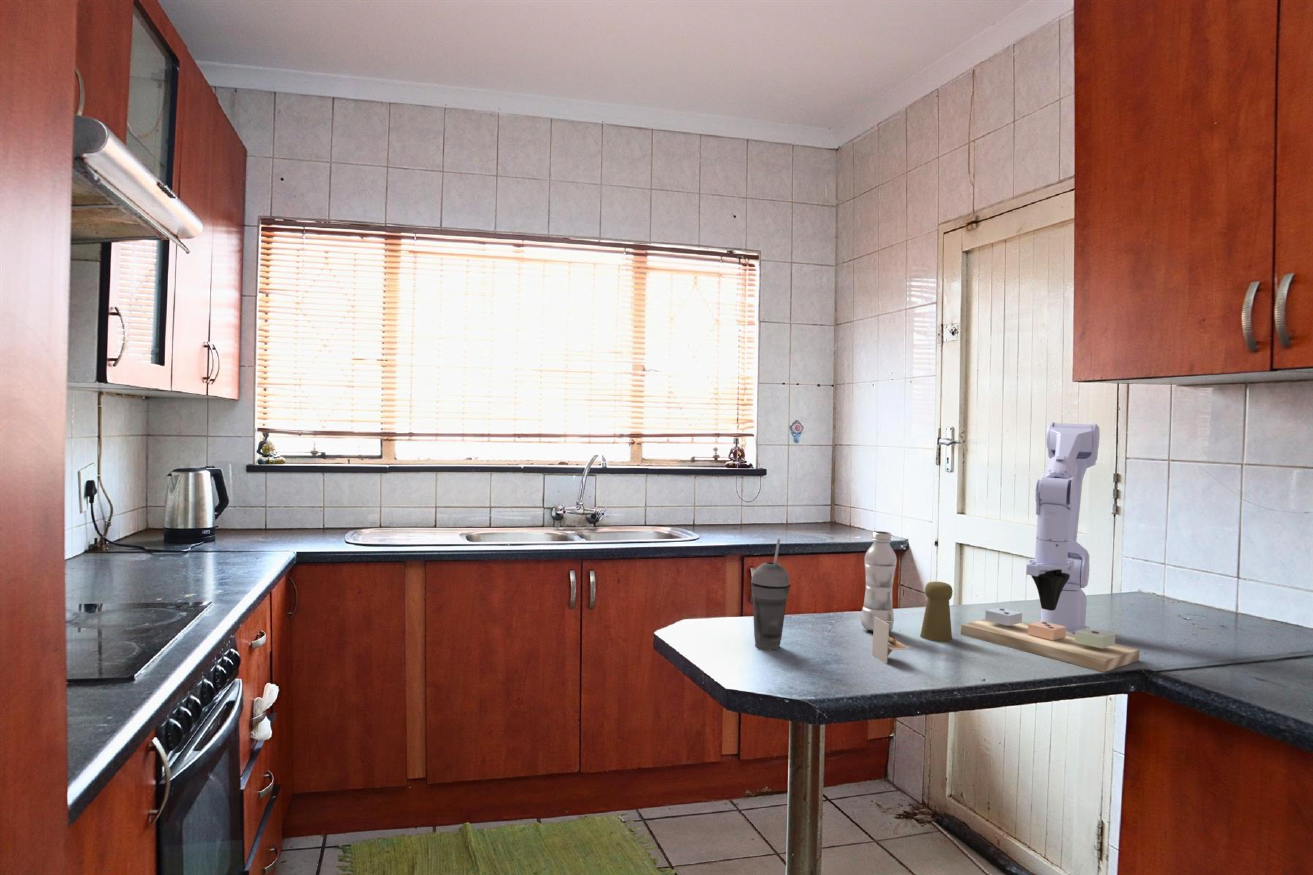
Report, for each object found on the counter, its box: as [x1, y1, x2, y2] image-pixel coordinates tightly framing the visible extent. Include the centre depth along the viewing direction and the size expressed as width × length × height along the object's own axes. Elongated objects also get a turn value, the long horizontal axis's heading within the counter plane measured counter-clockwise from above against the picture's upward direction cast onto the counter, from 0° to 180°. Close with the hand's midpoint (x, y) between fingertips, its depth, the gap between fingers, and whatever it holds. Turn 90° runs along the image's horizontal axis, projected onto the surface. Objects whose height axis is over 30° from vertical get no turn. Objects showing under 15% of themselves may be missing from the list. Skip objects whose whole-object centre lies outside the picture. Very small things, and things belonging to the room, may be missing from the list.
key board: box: [960, 618, 1141, 673], centre depth 161 cm, size 14×28×2 cm, turn 38°
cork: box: [919, 581, 954, 643], centre depth 164 cm, size 6×6×11 cm
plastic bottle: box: [860, 530, 898, 632], centre depth 167 cm, size 6×7×20 cm
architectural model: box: [871, 617, 909, 665], centre depth 147 cm, size 3×7×7 cm, turn 11°
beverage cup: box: [750, 538, 791, 651], centre depth 152 cm, size 7×7×20 cm
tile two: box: [984, 607, 1023, 626], centre depth 168 cm, size 5×5×2 cm
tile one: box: [1074, 628, 1116, 649], centre depth 154 cm, size 5×5×2 cm
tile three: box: [1028, 620, 1067, 640], centre depth 161 cm, size 5×5×2 cm
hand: (1048, 609), depth 161 cm, fingers closed
